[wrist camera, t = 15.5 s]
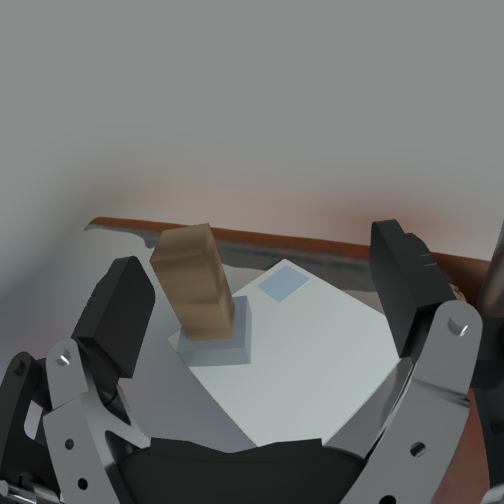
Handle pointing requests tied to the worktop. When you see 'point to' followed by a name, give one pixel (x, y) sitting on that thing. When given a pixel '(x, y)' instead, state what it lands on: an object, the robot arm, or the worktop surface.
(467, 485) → the worktop surface
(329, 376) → the base board
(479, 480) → the worktop surface
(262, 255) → the worktop surface
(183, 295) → the walnut pillar
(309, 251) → the worktop surface
